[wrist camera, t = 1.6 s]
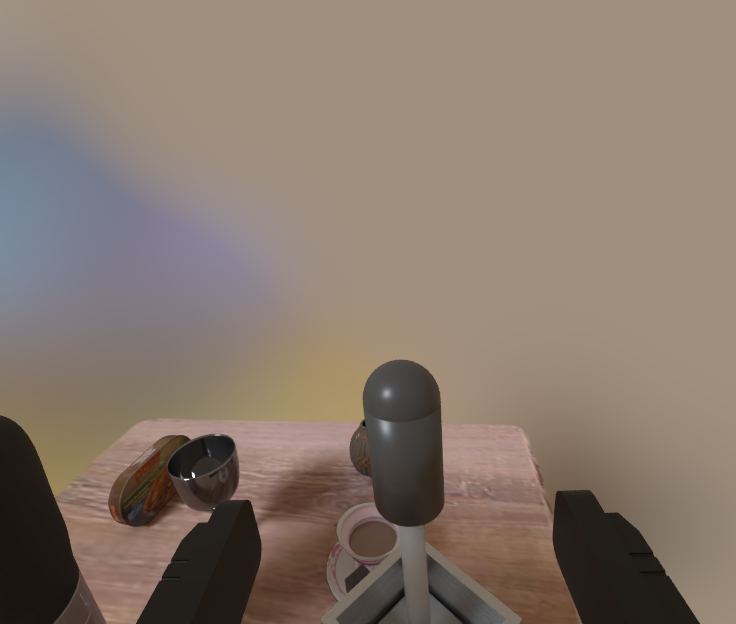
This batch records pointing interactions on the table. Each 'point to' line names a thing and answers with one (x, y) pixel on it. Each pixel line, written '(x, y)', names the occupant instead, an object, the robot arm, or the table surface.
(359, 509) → the teacup
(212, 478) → the wine glass
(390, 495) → the screwdriver
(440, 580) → the square planter box
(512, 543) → the table surface
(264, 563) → the table surface
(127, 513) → the tin
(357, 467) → the vase
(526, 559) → the table surface
